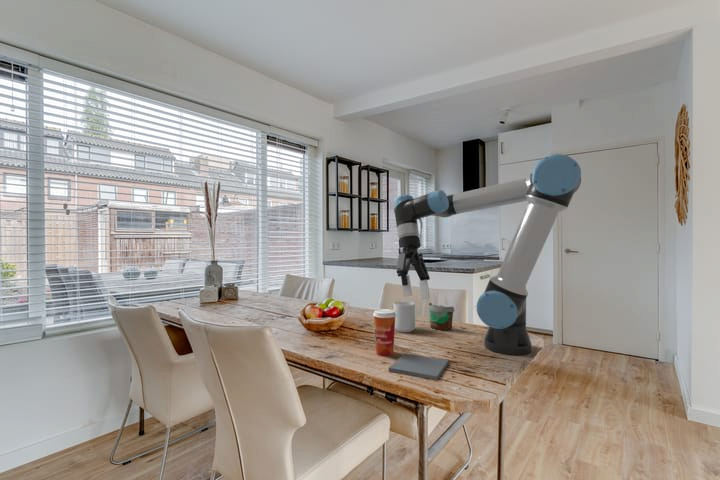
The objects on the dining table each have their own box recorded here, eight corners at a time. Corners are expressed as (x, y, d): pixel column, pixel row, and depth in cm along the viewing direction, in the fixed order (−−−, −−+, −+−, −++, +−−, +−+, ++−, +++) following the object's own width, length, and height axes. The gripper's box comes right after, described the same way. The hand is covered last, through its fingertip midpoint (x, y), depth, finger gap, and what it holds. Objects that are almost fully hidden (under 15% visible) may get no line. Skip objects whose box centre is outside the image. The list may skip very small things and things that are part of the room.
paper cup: (368, 354, 116) (368, 311, 116) (380, 348, 123) (380, 307, 123) (389, 358, 112) (389, 314, 112) (400, 352, 118) (400, 310, 118)
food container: (421, 327, 150) (421, 304, 150) (430, 325, 154) (430, 302, 154) (445, 333, 141) (445, 308, 141) (454, 330, 145) (454, 306, 145)
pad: (448, 363, 108) (448, 360, 108) (436, 379, 96) (436, 376, 95) (404, 356, 114) (404, 353, 114) (388, 371, 102) (388, 367, 102)
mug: (410, 334, 140) (410, 306, 140) (389, 331, 145) (389, 304, 145) (420, 327, 151) (420, 301, 151) (401, 324, 155) (401, 299, 155)
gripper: (415, 246, 138) (423, 301, 131) (381, 233, 118) (388, 296, 111) (432, 242, 134) (442, 298, 127) (400, 226, 114) (410, 292, 107)
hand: (417, 297), depth 119 cm, fingers open, 13 cm apart
